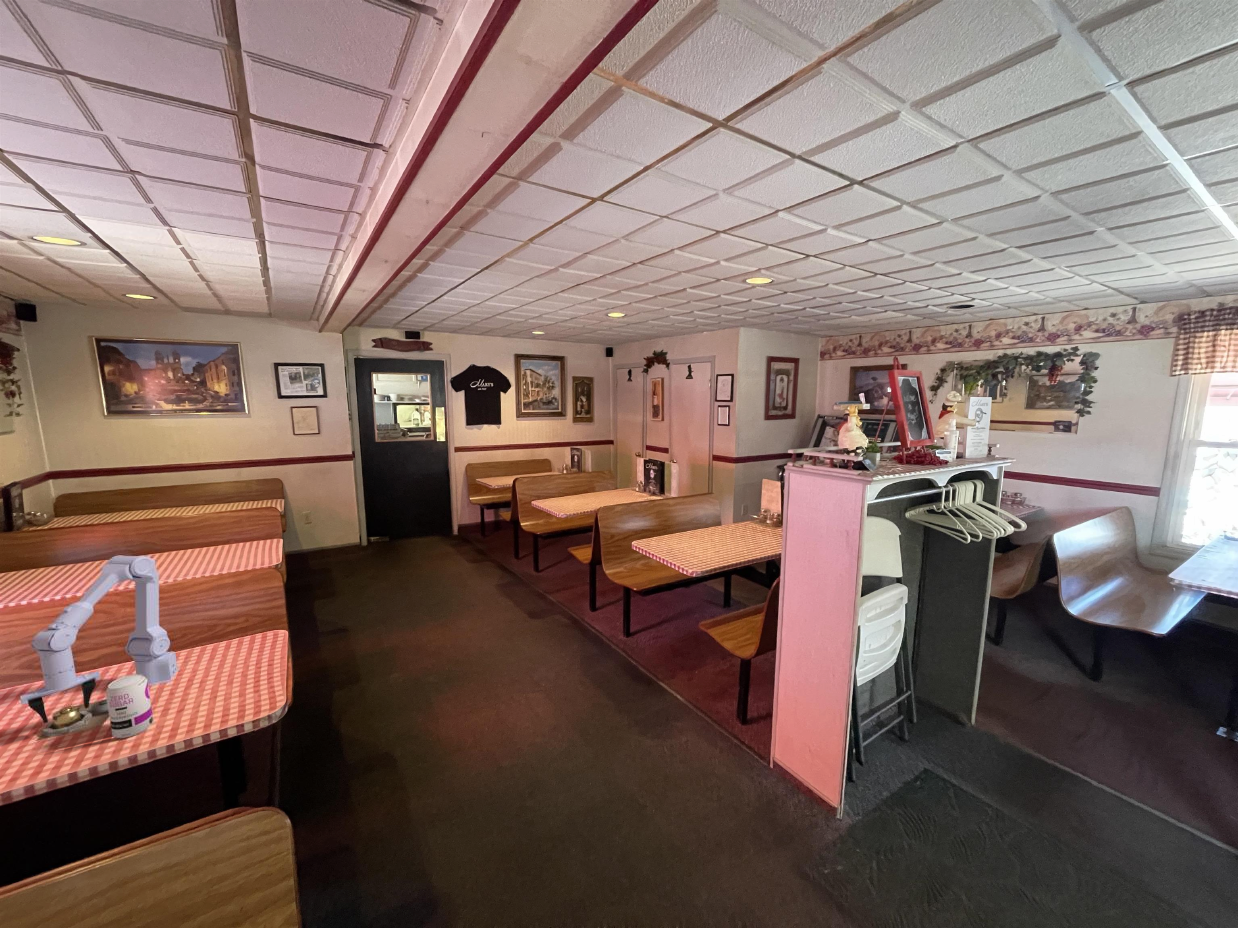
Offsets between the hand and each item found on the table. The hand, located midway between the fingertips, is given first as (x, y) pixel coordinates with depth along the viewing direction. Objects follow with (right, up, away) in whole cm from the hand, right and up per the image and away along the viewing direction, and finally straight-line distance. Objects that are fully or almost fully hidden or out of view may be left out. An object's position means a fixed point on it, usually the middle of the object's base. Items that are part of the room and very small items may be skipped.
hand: (66, 713), depth 134 cm
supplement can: (+19, -5, 0) cm, 20 cm away
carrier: (0, -4, +4) cm, 6 cm away
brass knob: (0, -4, +1) cm, 4 cm away
